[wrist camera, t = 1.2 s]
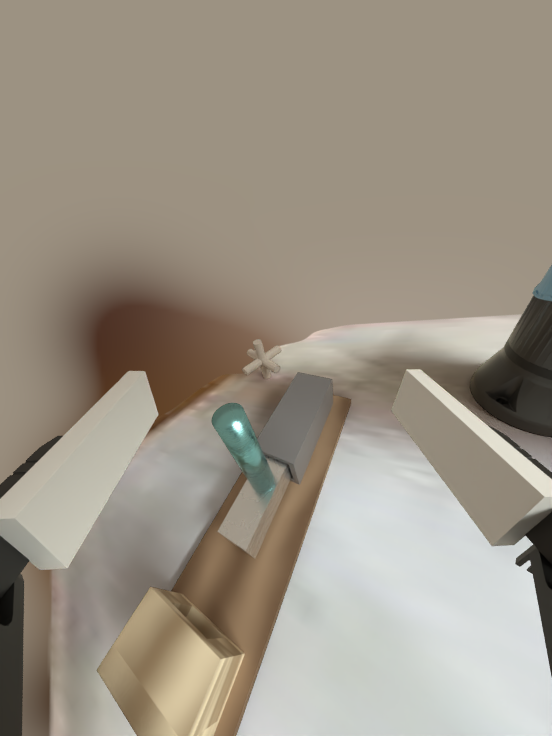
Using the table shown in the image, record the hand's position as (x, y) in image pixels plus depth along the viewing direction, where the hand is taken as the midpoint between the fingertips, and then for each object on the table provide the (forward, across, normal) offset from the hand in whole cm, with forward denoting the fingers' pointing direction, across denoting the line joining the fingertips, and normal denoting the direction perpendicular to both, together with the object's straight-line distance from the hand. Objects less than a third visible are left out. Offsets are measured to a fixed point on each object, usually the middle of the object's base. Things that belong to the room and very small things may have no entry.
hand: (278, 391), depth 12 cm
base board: (+9, 0, -26) cm, 28 cm away
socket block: (-4, -8, -29) cm, 31 cm away
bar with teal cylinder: (+13, +2, -23) cm, 26 cm away
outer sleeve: (+18, +6, -22) cm, 29 cm away
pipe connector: (+36, 0, -22) cm, 42 cm away
